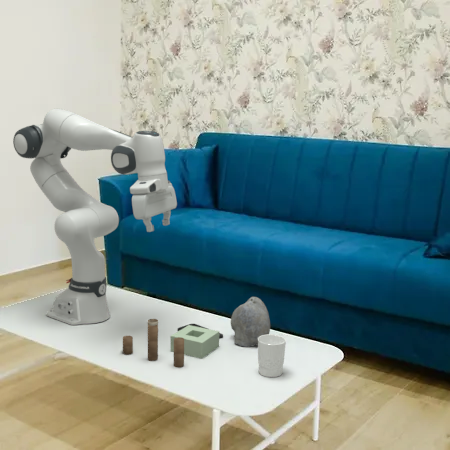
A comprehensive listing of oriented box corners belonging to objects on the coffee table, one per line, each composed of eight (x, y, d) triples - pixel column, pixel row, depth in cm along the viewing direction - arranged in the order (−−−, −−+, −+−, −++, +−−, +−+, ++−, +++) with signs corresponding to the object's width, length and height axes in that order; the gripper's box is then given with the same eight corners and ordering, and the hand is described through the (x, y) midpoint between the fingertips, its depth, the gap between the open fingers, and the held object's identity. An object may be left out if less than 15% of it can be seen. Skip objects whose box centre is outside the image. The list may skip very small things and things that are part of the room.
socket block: (170, 351, 191) (170, 335, 191) (188, 339, 201) (188, 325, 200) (201, 358, 187) (202, 342, 186) (219, 346, 196) (219, 331, 195)
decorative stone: (220, 341, 201) (221, 296, 198) (238, 331, 209) (240, 288, 206) (260, 352, 192) (262, 305, 190) (277, 342, 201) (279, 297, 198)
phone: (193, 323, 214) (224, 334, 204) (193, 326, 215) (224, 338, 204) (175, 328, 209) (207, 340, 199) (175, 331, 209) (207, 344, 199)
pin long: (145, 359, 185) (145, 321, 183) (151, 356, 188) (151, 318, 185) (154, 361, 184) (154, 322, 181) (159, 358, 186) (160, 319, 184)
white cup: (289, 372, 179) (291, 339, 177) (273, 381, 173) (274, 346, 171) (268, 364, 184) (269, 332, 182) (250, 372, 178) (252, 339, 176)
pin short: (120, 353, 189) (120, 337, 188) (126, 350, 192) (126, 334, 191) (128, 355, 188) (128, 339, 187) (134, 352, 190) (134, 336, 189)
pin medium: (171, 366, 181) (171, 339, 179) (177, 362, 184) (177, 336, 182) (180, 368, 180) (180, 341, 178) (185, 364, 182) (186, 338, 181)
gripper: (162, 179, 202) (166, 221, 205) (126, 189, 184) (132, 235, 187) (179, 178, 199) (183, 221, 202) (144, 188, 181) (150, 235, 184)
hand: (158, 228), depth 194 cm, fingers open, 8 cm apart
